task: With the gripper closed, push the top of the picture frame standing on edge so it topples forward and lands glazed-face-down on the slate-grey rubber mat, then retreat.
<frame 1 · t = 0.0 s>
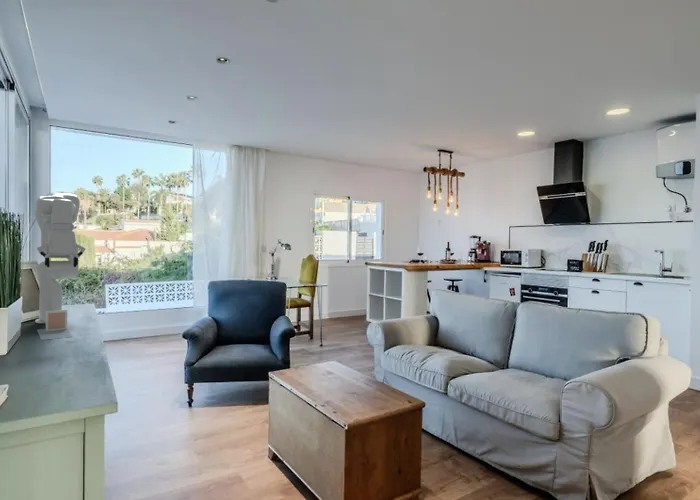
hand: (61, 267, 180), 31 cm above the sideboard top, fingers open, 9 cm apart
mat: (54, 333, 187), on the sideboard top
picture frame: (56, 329, 193), resting on mat
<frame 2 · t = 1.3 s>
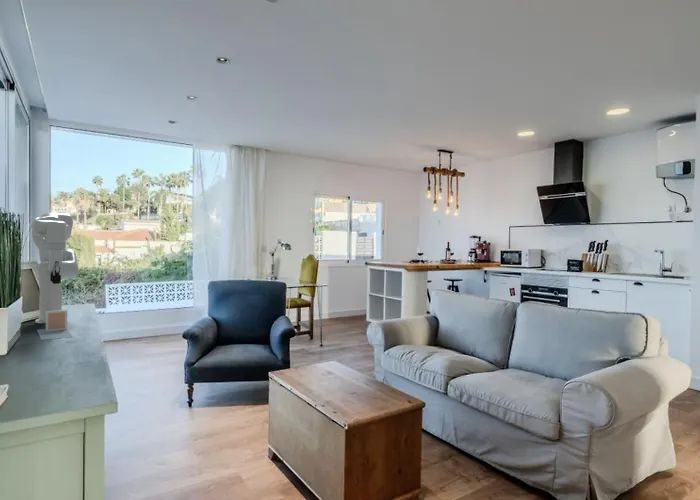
hand: (55, 282, 198), 22 cm above the sideboard top, fingers open, 9 cm apart
nothing on the sideboard top moved.
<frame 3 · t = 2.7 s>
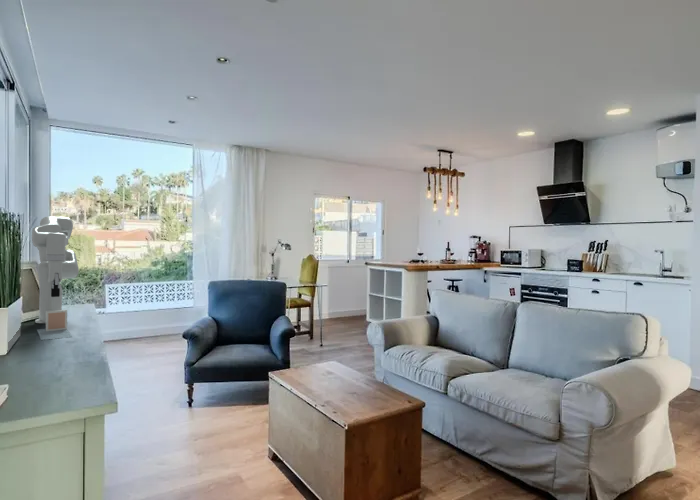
hand: (55, 296, 198), 15 cm above the sideboard top, fingers closed
nothing on the sideboard top moved.
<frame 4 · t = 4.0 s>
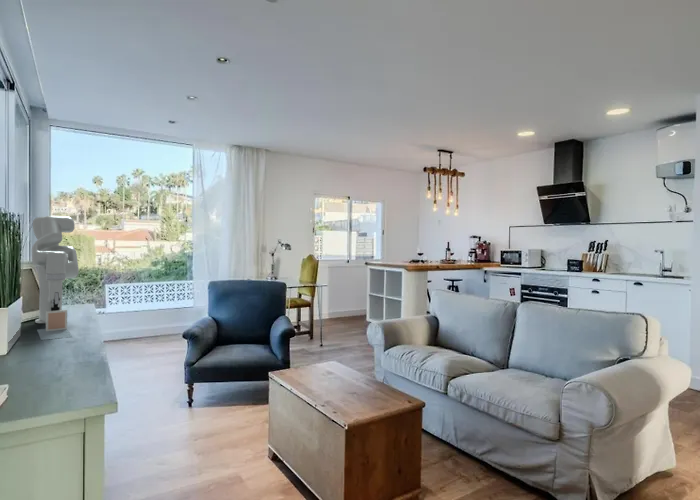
hand: (55, 315, 197), 6 cm above the sideboard top, fingers closed
nothing on the sideboard top moved.
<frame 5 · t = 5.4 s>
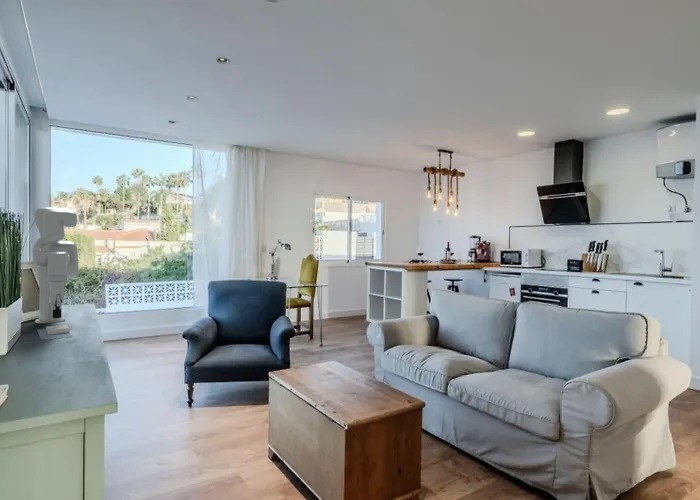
hand: (56, 317, 192), 6 cm above the sideboard top, fingers closed
picture frame: (56, 327, 192), point 1 cm above the sideboard top, tilted 90°, touching mat
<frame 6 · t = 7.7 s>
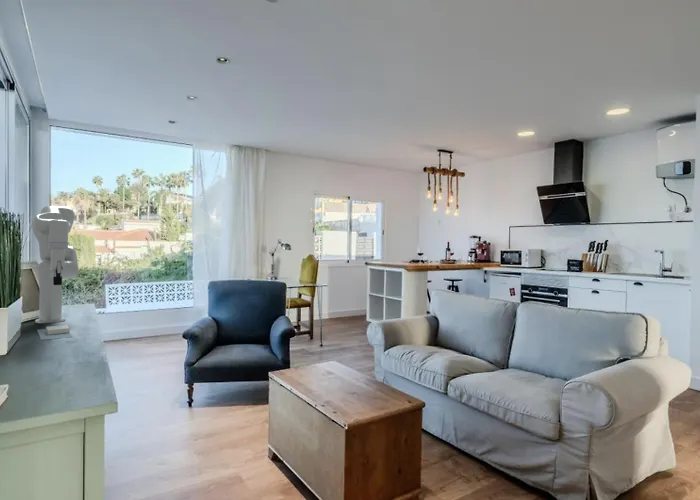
hand: (57, 284, 194), 21 cm above the sideboard top, fingers closed
nothing on the sideboard top moved.
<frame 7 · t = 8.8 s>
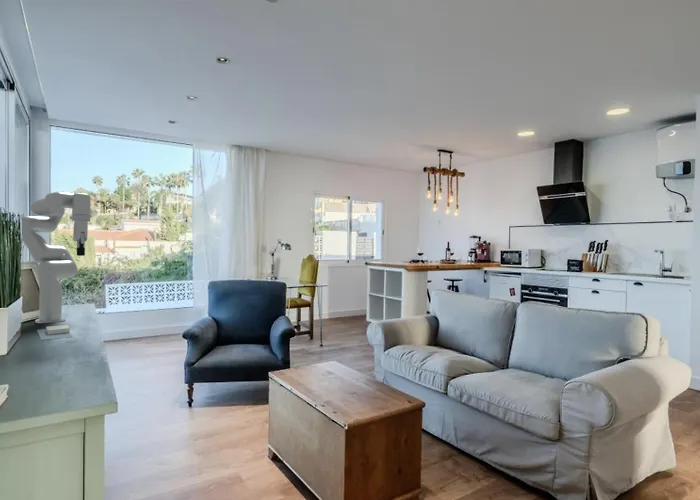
hand: (80, 255, 203), 35 cm above the sideboard top, fingers closed
nothing on the sideboard top moved.
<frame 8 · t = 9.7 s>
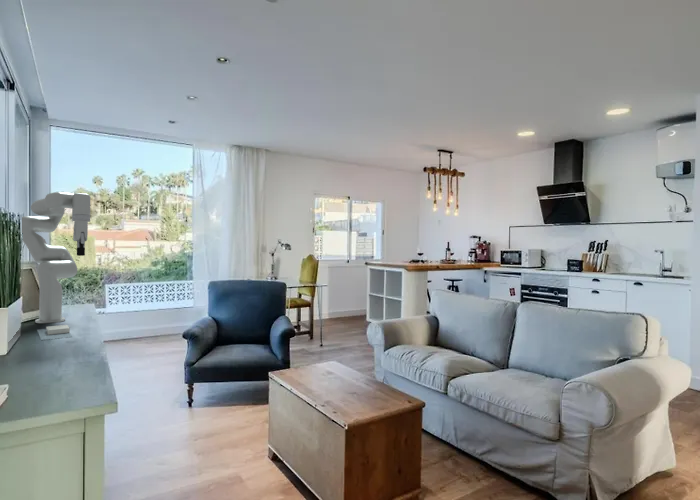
hand: (80, 255, 203), 35 cm above the sideboard top, fingers closed
nothing on the sideboard top moved.
at the end: picture frame tilted 90°; picture frame inside the target area (6.0 cm from its centre), point 1.5 cm above the sideboard top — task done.
